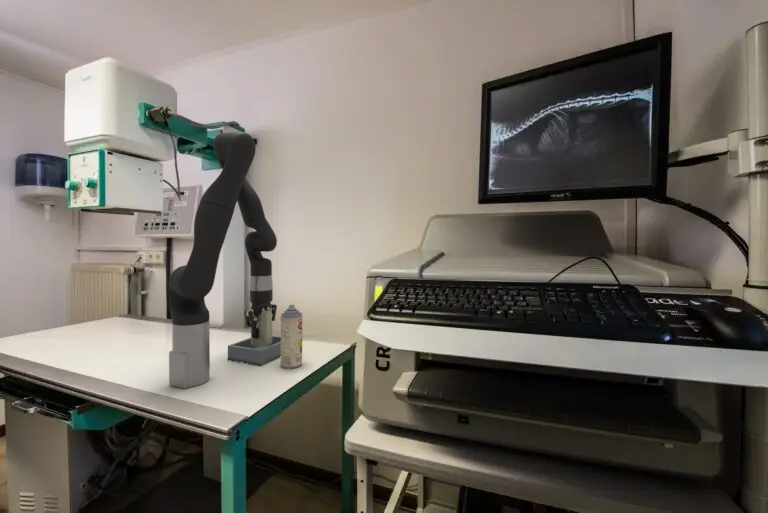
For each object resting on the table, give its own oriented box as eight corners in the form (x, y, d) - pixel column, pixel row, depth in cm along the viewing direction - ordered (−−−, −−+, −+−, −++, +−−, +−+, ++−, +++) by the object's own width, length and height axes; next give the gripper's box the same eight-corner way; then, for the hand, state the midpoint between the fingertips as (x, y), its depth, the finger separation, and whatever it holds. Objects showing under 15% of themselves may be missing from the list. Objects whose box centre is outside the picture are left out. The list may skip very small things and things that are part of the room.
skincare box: (272, 342, 120) (272, 309, 120) (267, 346, 116) (267, 311, 115) (256, 341, 121) (256, 308, 120) (249, 345, 116) (249, 311, 116)
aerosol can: (302, 368, 108) (302, 306, 107) (280, 369, 106) (280, 307, 105) (302, 360, 114) (302, 302, 113) (281, 362, 113) (281, 303, 112)
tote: (261, 366, 109) (261, 351, 108) (227, 360, 114) (227, 345, 113) (291, 351, 124) (291, 338, 123) (260, 346, 129) (260, 333, 128)
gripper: (255, 291, 109) (255, 343, 110) (283, 286, 123) (283, 332, 124) (237, 290, 112) (237, 340, 113) (266, 285, 126) (266, 330, 126)
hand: (261, 336), depth 118 cm, fingers closed on skincare box, 5 cm apart
